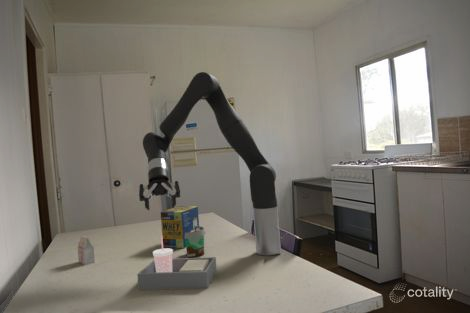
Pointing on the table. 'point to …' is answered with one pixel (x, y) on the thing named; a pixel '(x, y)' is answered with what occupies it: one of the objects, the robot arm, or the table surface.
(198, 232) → the food container
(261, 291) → the table surface
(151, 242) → the table surface
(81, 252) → the small milk carton
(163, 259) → the beverage cup
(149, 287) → the tray
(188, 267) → the beige rectangular block
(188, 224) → the protein box
